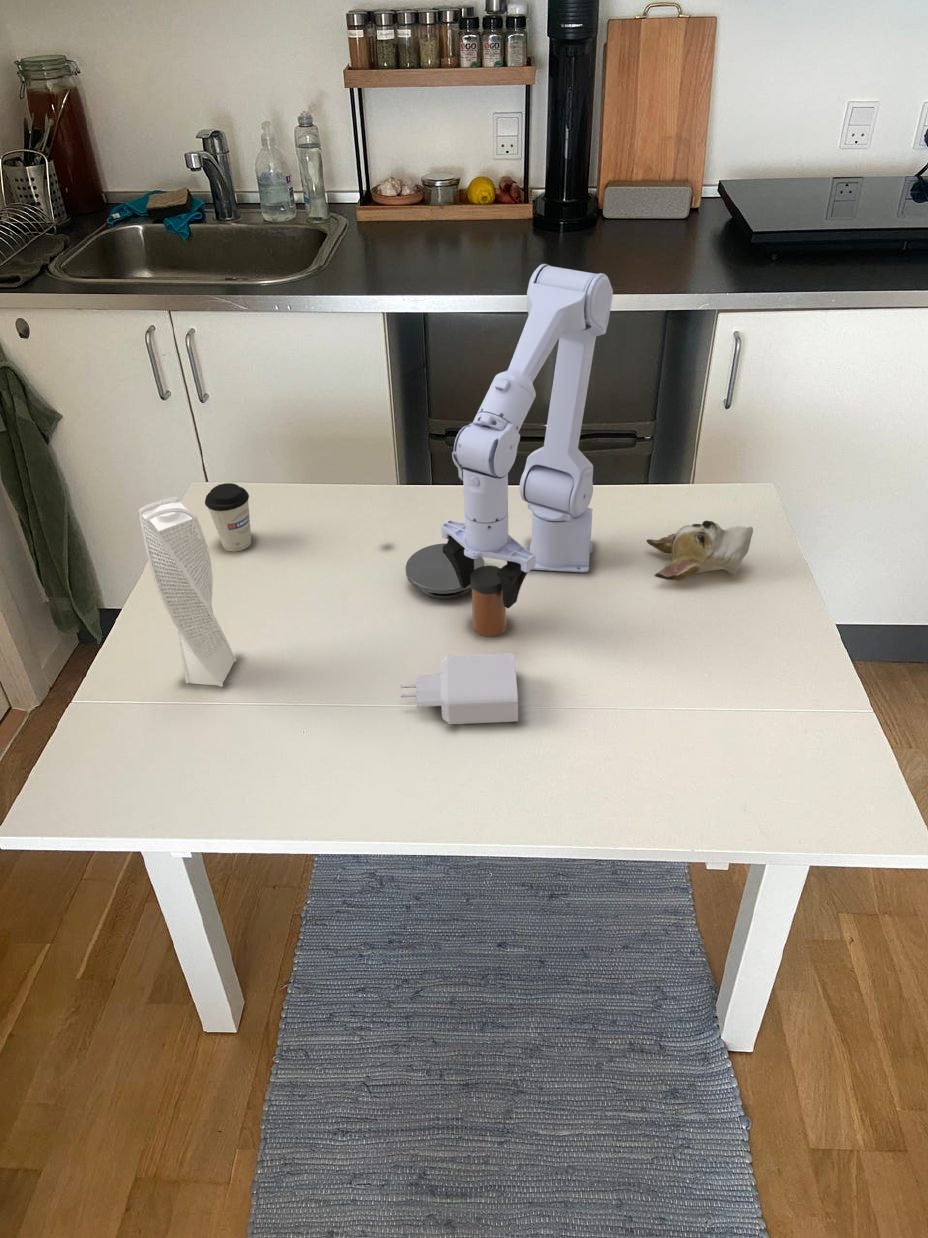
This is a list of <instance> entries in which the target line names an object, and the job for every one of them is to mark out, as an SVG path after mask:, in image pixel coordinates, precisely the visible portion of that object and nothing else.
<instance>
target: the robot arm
mask: <svg viewBox="0 0 928 1238" xmlns="http://www.w3.org/2000/svg"><path fill="white" fill-rule="evenodd" d="M613 295H614V289H613V287H612V284H611V281H610V279H609V277H608V275H606V274H605V273H602V272H600V273H593V272H587V271H582V270H576V269H570V268H565V267H564V268H563V267H559V266H552V265H550V264H548V263H541V264H540V265H539V266H538V267H536V269H535V270H534V271H533V273H532V274H531V276H530V278H529V282H528V286H527V290H526V309H527V314H528V316H527V318H526V321H525V324H524V327H523V328H522V329H523V330H522V332H521V335H520V337H519V340H518V342H517V345H516V347H515V350H514V352H513V356H512V357H511V361H510V364H509V366H508V368H507V370H505V371H502V372H499V373H497V374H495V376H494V378H493V380H492V382H491V384H490V386H489V388H488V390H487V392H486V393H485V396H484V398H483V400H482V402H481V404H480V406H479V407H478V410H477V413H476V415H475V417H474V419H473V421H472V422H471V423H469V424H468V425H464V426H463V427H461V429H460V430H459V431H458V433H457V434H456V437H455V439H454V443H453V451H452V452H451V459H452V461H453V463H454V465H455V466H456V468H457V471H458V478H459V479H460V480H461V482H463V507H464V510H463V511H464V522H460V521H457V520H452V519H448V520H447V521H446V522H444V523H443V524H441V525H440V532H441V534H440V535H441V538H443V539H445V540H447V541H446V543H447V544H445V545H444V546H443V547H442V550H443V553H444V554H445V555H446V557H447V558H448V559H449V561H450V562H451V564H452V566H453V568H454V570H455V572H456V575H457V577H458V580H459V583H460V585H461V587H462V588H464V589H465V588H466V587H467V586H469V585H470V584H471V577H470V576H471V573H472V572H473V571H474V559H477V558H478V557H482V558H487V559H492V560H493V559H494V560H500V561H505V562H506V564H505V565H503V566H502V567H500V568H501V569H500V570H498V571H497V575H498V577H499V579H500V582H501V585H502V590H503V604H504V607H506V609H510V608H511V607H512V606H513V605H515V604H516V603H517V601H518V598H519V594H520V590H521V588H522V585H523V583H524V581H525V578H526V576H527V575H528V573H529V572H530V571H531V570H533V571H534V570H535V571H549V572H550V571H551V572H570V573H589V571H590V558H591V554H593V545H594V541H593V540H592V527H593V508H592V507H590V504H591V501H592V497H593V493H594V482H593V478H594V477H593V476H594V465H593V463H592V462H591V461H590V460H589V459H588V458H587V457H586V456H585V454H583V452H582V451H581V450H580V448H579V445H580V444H579V443H580V437H581V433H582V426H583V425H582V424H583V420H584V419H583V418H584V413H585V407H586V400H587V394H588V389H589V382H590V375H591V370H592V363H593V358H594V352H595V351H594V350H595V345H596V339H597V337H600V336H602V335H605V334H606V333H607V328H608V325H609V320H610V315H611V308H612V303H613V298H614V297H613ZM557 342H558V345H557V352H556V359H555V367H554V374H553V381H552V382H553V383H552V387H551V395H550V401H549V407H548V413H547V415H548V416H547V421H546V429H545V436H544V443H543V446H542V447H540V448H538V449H535V450H534V451H532V452H531V453H529V455H527V458H526V462H525V466H524V469H523V473H522V474H521V478H520V482H519V488H518V489H519V494H520V497H521V500H522V501H523V502H524V503H527V510H530V512H531V540H530V543H529V544H530V545H529V550H528V549H527V548H526V547H524V546H523V545H522V544H521V543H519V542H518V541H517V540H516V539H514V537H512V536H511V535H510V534H509V472H510V471H511V469H512V467H513V466H514V464H515V462H516V457H517V453H518V447H519V443H520V441H521V434H520V433H519V432H520V430H521V427H522V426H523V424H524V422H525V420H526V417H527V415H528V413H529V412H530V409H531V407H532V405H533V403H534V401H535V399H536V396H537V393H536V390H535V387H534V384H533V383H534V381H535V379H536V377H537V376H538V374H539V373H540V371H541V369H542V367H543V366H544V364H545V363H546V361H547V359H548V357H549V356H550V354H551V353H552V351H553V349H554V347H555V345H556V344H557Z"/></svg>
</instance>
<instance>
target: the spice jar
mask: <svg viewBox="0 0 928 1238" xmlns="http://www.w3.org/2000/svg"><path fill="white" fill-rule="evenodd" d="M501 568H502V567H499V566H497V565H485V566H482V567H479V568H476V569H475V570H474V571H473V572H472V573H471V576H470V577H471V590H470V592H471V611H472V613H471V615H472V628H473V631H474V632H475V633H476V634H478V635H480V636H483V637H496V636H499V635H501V634H503V633H504V632H505V630H506V629H507V608H506V607H504V604H503V590H502V585H501V582H500V579H499V577H498V575H497V571H498V570H500V569H501Z"/></svg>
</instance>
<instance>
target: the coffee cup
mask: <svg viewBox="0 0 928 1238" xmlns="http://www.w3.org/2000/svg"><path fill="white" fill-rule="evenodd" d="M249 498H250V494H249V492H248V491H247V490H246V489H245V488H244V487H243V486H239V484H236V483H231V482H226V483H221V484H219V485H216V486H214V487H212V489H210V491H209V492H208V494H206V495H205V500H204V505H205V507H206V508H207V509H208V511H209V514H210V516H211V519H212V521H213V524H214V527H215V529H216V531H217V534H218V536H219V539H220V541H221V545H222V546H223V549H224V550H226V551H229V552H240V551H244V550H245V549H248V547H250V546H251V545H252V533H251V531H252V530H251V520H250V518H251V517H250V507H249Z"/></svg>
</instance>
